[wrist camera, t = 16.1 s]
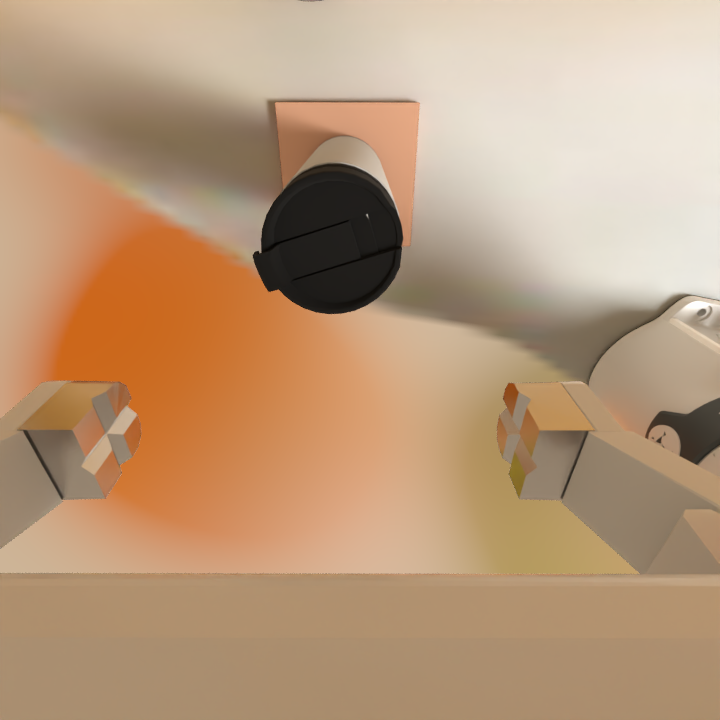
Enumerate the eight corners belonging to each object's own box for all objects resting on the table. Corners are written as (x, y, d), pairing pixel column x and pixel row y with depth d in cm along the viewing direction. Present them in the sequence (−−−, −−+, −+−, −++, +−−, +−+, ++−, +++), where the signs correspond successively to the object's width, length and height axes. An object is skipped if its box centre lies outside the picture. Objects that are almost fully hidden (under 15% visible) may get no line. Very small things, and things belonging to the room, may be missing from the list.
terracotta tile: (418, 102, 32) (419, 102, 32) (409, 243, 38) (410, 246, 37) (276, 102, 32) (275, 102, 32) (289, 243, 38) (288, 246, 37)
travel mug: (292, 150, 33) (224, 203, 16) (371, 124, 32) (386, 150, 15) (318, 227, 37) (284, 337, 20) (391, 204, 36) (421, 299, 19)
